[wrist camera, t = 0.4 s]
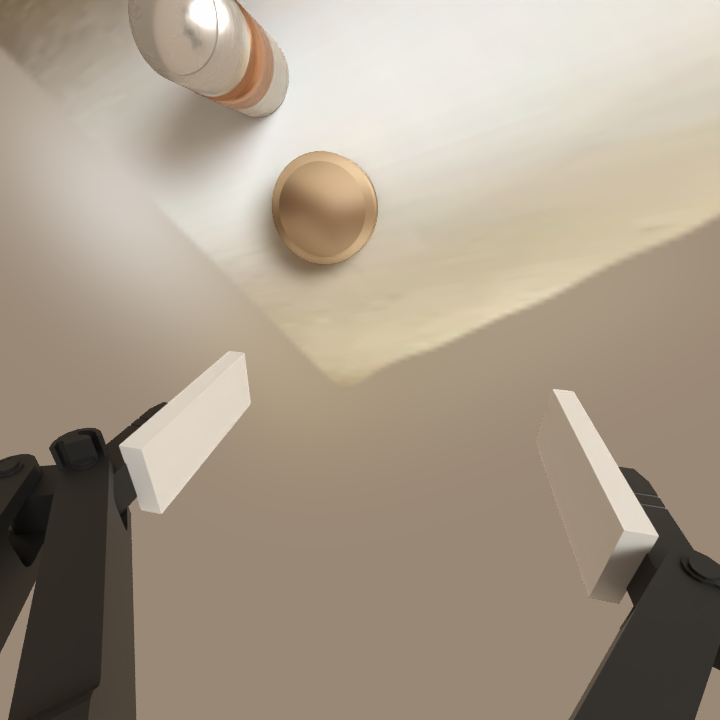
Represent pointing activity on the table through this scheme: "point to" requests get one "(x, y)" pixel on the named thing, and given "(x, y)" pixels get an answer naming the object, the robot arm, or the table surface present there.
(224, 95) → the can
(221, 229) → the table surface
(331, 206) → the stand
